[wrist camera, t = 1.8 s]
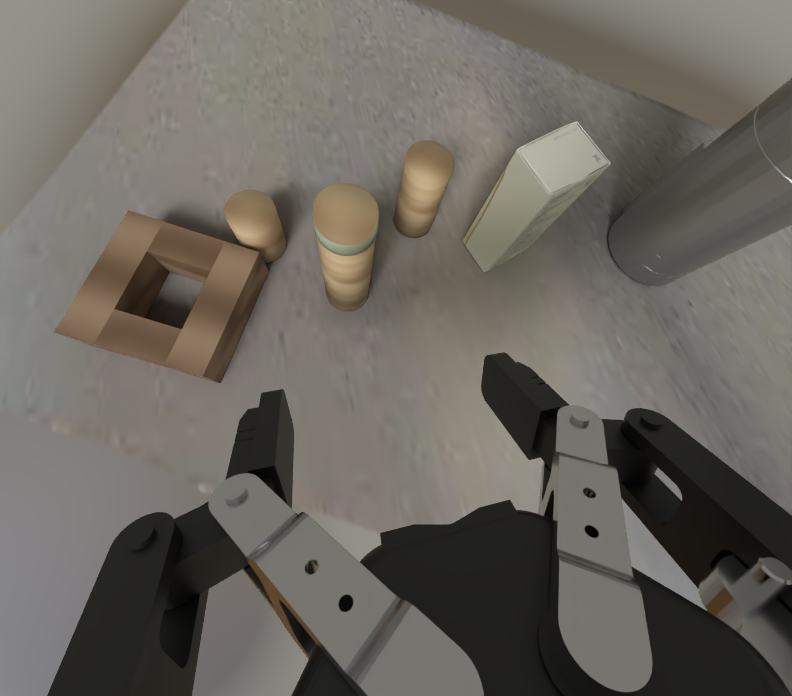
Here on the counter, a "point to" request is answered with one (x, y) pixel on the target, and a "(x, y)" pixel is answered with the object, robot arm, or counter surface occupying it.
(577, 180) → the skincare box
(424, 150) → the medium pin
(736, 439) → the counter surface
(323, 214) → the tall pin
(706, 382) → the counter surface
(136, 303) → the socket block
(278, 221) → the short pin
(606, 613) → the robot arm
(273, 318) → the counter surface
